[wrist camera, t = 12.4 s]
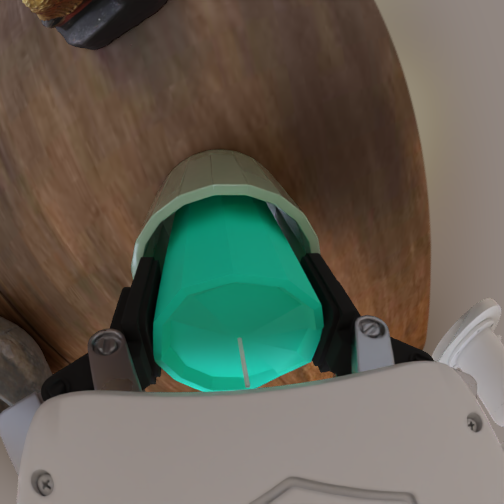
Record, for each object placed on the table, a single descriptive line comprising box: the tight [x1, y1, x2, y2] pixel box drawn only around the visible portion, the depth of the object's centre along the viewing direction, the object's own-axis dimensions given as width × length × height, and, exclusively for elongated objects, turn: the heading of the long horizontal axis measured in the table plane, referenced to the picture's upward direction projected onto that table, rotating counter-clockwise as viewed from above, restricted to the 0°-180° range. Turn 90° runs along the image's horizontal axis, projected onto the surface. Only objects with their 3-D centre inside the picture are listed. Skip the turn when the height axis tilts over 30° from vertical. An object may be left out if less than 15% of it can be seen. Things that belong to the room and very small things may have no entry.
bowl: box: [0, 317, 53, 413], centre depth 18 cm, size 14×15×10 cm
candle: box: [153, 195, 324, 392], centre depth 13 cm, size 6×6×12 cm
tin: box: [131, 149, 320, 279], centre depth 16 cm, size 8×8×8 cm
